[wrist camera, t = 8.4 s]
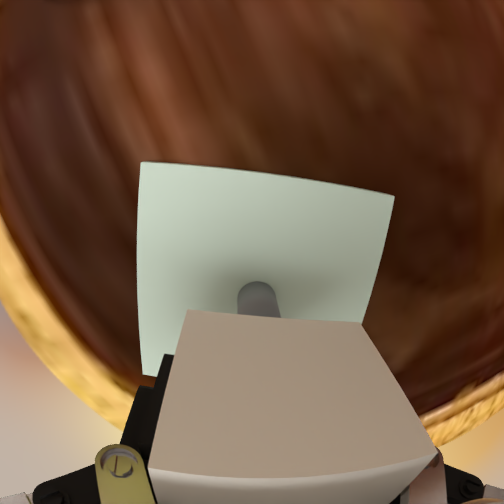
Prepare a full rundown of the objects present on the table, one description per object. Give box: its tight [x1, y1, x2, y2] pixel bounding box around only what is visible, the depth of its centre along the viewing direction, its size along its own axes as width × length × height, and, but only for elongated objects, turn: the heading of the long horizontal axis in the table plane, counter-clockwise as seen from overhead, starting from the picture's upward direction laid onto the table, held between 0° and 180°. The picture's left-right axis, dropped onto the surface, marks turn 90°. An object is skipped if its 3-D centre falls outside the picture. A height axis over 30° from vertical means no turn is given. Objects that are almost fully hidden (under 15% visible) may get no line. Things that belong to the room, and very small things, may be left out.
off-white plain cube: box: [148, 309, 438, 504], centre depth 8 cm, size 6×6×6 cm
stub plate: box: [137, 161, 395, 376], centre depth 17 cm, size 14×14×4 cm
